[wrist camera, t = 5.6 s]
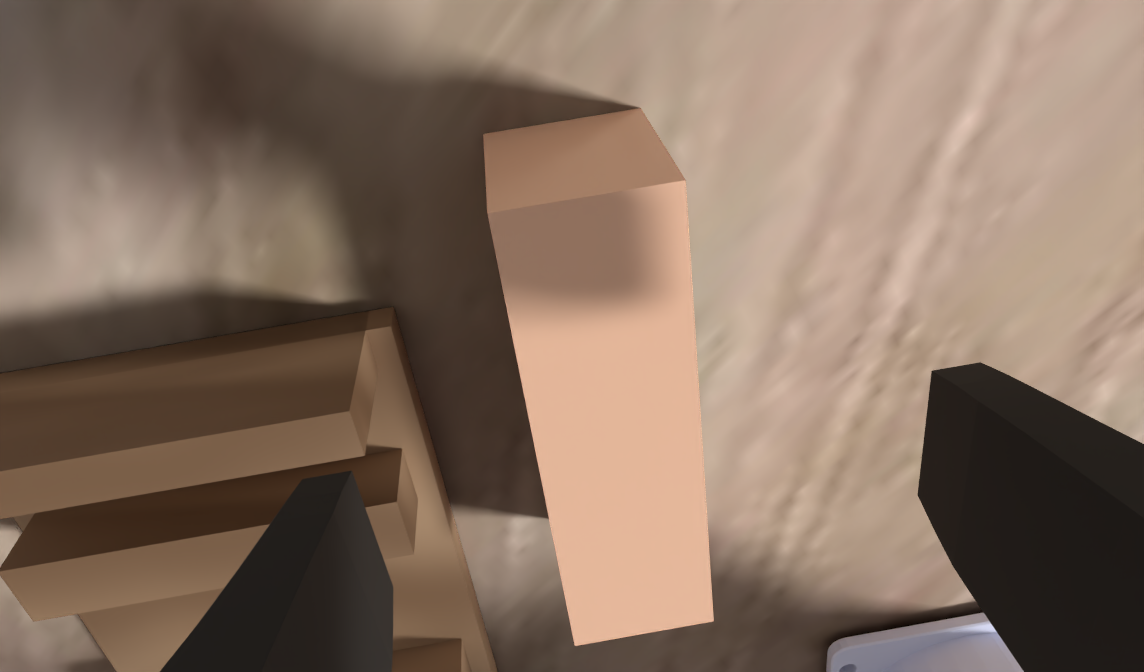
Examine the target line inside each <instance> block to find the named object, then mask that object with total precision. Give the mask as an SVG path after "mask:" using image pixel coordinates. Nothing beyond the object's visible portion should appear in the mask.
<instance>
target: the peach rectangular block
mask: <svg viewBox="0 0 1144 672" xmlns="http://www.w3.org/2000/svg"><path fill="white" fill-rule="evenodd" d="M483 139H484V159H485V178H486V197H487V214H488V219H489V224H490V229H491V234H492V239H493V244H494V249H495V254H496V259H497V264H498V268H499V273H500V278H501V283H502V288H503V293H504V298H505V303H506V308H507V313H508V318H509V323H510V328H511V333H512V338H513V343H514V348H515V353H516V358H517V362H518V367H519V372H520V377H521V382H522V387H523V392H524V397H525V402H526V407H527V412H528V417H529V422H530V427H531V432H532V437H533V442H534V447H535V452H536V457H537V461H538V466H539V471H540V476H541V481H542V486H543V491H544V496H545V501H546V506H547V511H548V516H549V521H550V526H551V531H552V536H553V541H554V546H555V551H556V555H557V560H558V565H559V570H560V575H561V580H562V585H563V590H564V595H565V600H566V605H567V610H568V615H569V620H570V625H571V630H572V635H573V640H574V645H575V646H578V645H584V644H589V643H595V642H601V641H606V640H612V639H617V638H623V637H629V636H634V635H640V634H645V633H651V632H656V631H662V630H668V629H673V628H679V627H684V626H690V625H696V624H701V623H707V622H712V621H714V617H713V601H712V586H711V570H710V554H709V539H708V523H707V507H706V492H705V476H704V460H703V444H702V429H701V413H700V397H699V382H698V366H697V350H696V335H695V319H694V303H693V287H692V272H691V256H690V240H689V225H688V209H687V193H686V180H685V178H684V177H683V175H682V173H681V172H680V170H679V169H678V167H677V165H676V164H675V162H674V161H673V159H672V157H671V156H670V154H669V153H668V151H667V149H666V148H665V146H664V145H663V143H662V141H661V140H660V138H659V137H658V135H657V133H656V132H655V130H654V129H653V127H652V125H651V124H650V122H649V121H648V119H647V117H646V116H645V114H644V113H643V111H642V109H641V108H637V109H631V110H625V111H619V112H613V113H607V114H601V115H595V116H589V117H583V118H577V119H571V120H565V121H559V122H553V123H547V124H541V125H535V126H529V127H523V128H517V129H510V130H504V131H498V132H492V133H486V134H483Z"/></svg>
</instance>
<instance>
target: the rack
mask: <svg viewBox="0 0 1144 672" xmlns="http://www.w3.org/2000/svg"><path fill="white" fill-rule="evenodd" d="M346 471H352V472H353V475H354V478H355V481H356V483H357V486H358V489H359V492H360V495H361V497H362V500H363V503H364V506H365V509H366V511H367V514H368V517H369V520H370V523H371V525H372V528H373V531H374V534H375V537H376V539H377V542H378V545H379V548H380V551H381V553H382V556H383V559H384V562H385V565H386V567H387V570H388V573H389V576H390V579H391V581H392V584H393V657H392V672H498V671H497V668H496V664H495V661H494V657H493V654H492V650H491V646H490V643H489V639H488V636H487V632H486V629H485V625H484V622H483V618H482V615H481V611H480V608H479V604H478V601H477V597H476V594H475V590H474V587H473V583H472V580H471V576H470V573H469V569H468V566H467V562H466V559H465V555H464V552H463V548H462V545H461V541H460V538H459V534H458V531H457V527H456V524H455V520H454V517H453V513H452V510H451V506H450V503H449V499H448V496H447V492H446V489H445V485H444V482H443V478H442V475H441V471H440V468H439V464H438V461H437V457H436V454H435V450H434V447H433V443H432V440H431V436H430V433H429V429H428V426H427V422H426V419H425V415H424V412H423V408H422V405H421V401H420V398H419V394H418V391H417V387H416V384H415V380H414V377H413V373H412V370H411V366H410V363H409V359H408V356H407V352H406V349H405V345H404V342H403V338H402V335H401V331H400V328H399V324H398V321H397V317H396V314H395V310H394V307H389V308H383V309H377V310H371V311H365V312H359V313H353V314H348V315H342V316H336V317H330V318H324V319H318V320H312V321H306V322H300V323H295V324H289V325H283V326H277V327H271V328H265V329H259V330H253V331H247V332H242V333H236V334H230V335H224V336H218V337H212V338H206V339H200V340H194V341H189V342H183V343H177V344H171V345H165V346H159V347H153V348H147V349H141V350H135V351H130V352H124V353H118V354H112V355H106V356H100V357H94V358H88V359H82V360H77V361H71V362H65V363H59V364H53V365H47V366H41V367H35V368H29V369H24V370H18V371H12V372H6V373H0V519H4V518H10V517H13V518H14V520H15V521H16V523H17V524H18V526H19V527H20V529H21V530H22V532H23V533H22V534H21V536H20V537H19V539H18V540H17V542H16V544H15V545H14V547H13V548H12V550H11V552H10V553H9V555H8V556H7V558H6V559H5V561H4V563H3V564H2V566H1V567H0V576H1V577H2V579H3V580H4V581H5V583H6V584H7V586H8V587H9V588H10V590H11V591H12V593H13V594H14V595H15V597H16V598H17V599H18V601H19V602H20V604H21V605H22V606H23V608H24V609H25V611H26V612H27V613H28V615H29V616H30V618H31V619H32V620H33V622H34V621H40V620H45V619H51V618H57V617H62V616H68V615H74V614H78V615H79V617H80V618H81V620H82V621H83V622H84V624H85V625H86V627H87V628H88V630H89V631H90V633H91V634H92V636H93V637H94V639H95V640H96V642H97V643H98V645H99V646H100V648H101V649H102V651H103V652H104V654H105V655H106V657H107V658H108V660H109V661H110V663H111V664H112V666H113V667H114V669H115V670H116V672H160V670H161V669H162V668H163V667H164V666H165V664H166V663H167V662H168V661H169V659H170V658H171V657H172V656H173V654H174V653H175V652H176V651H177V649H178V648H179V647H180V646H181V644H182V643H183V642H184V641H185V639H186V638H187V637H188V636H189V634H190V633H191V632H192V631H193V629H194V628H195V627H196V625H197V624H198V623H199V621H200V620H201V619H202V617H203V616H204V615H205V613H206V612H207V611H208V609H209V608H210V606H211V605H212V604H213V602H214V601H215V600H216V598H217V597H218V596H219V594H220V593H221V592H222V590H223V589H224V588H225V586H226V585H227V583H228V582H229V581H230V579H231V578H232V577H233V575H234V574H235V573H236V571H237V570H238V569H239V567H240V566H241V564H242V563H243V561H244V560H245V559H246V557H247V556H248V554H249V553H250V552H251V550H252V549H253V547H254V546H255V545H256V543H257V542H258V540H259V539H260V537H261V536H262V535H263V533H264V532H265V530H266V529H267V527H268V526H269V525H270V523H271V522H272V520H273V519H274V517H275V516H276V515H277V513H278V512H279V510H280V509H281V508H282V506H283V505H284V503H285V502H286V501H287V499H288V498H289V497H290V495H291V494H292V492H293V491H294V490H295V488H296V487H297V486H298V484H299V483H300V482H301V480H302V479H306V478H311V477H317V476H323V475H329V474H335V473H340V472H346Z"/></svg>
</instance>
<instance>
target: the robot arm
mask: <svg viewBox="0 0 1144 672" xmlns="http://www.w3.org/2000/svg"><path fill="white" fill-rule="evenodd" d="M918 497H919V499H920V501H921V503H922V505H923V507H924V509H925V511H926V513H927V516H928V518H929V520H930V522H931V524H932V526H933V528H934V530H935V532H936V534H937V536H938V538H939V540H940V542H941V544H942V546H943V548H944V550H945V552H946V554H947V555H948V557H949V559H950V561H951V563H952V565H953V567H954V568H955V570H956V571H957V573H958V575H959V576H960V578H961V579H962V581H963V582H964V584H965V585H966V587H967V588H968V590H969V591H970V593H971V594H972V596H973V597H974V599H975V600H976V602H977V603H978V605H979V606H980V608H981V609H982V611H983V613H978V614H972V615H967V616H961V617H956V618H950V619H945V620H939V621H934V622H928V623H922V624H917V625H911V626H906V627H900V628H895V629H889V630H884V631H878V632H873V633H867V634H862V635H856V636H851V637H845V638H841V639H838V640H837V641H835V642H833V643H832V644H831V646H830V647H829V649H828V652H827V670H826V672H1144V444H1142V443H1140V442H1138V441H1136V440H1134V439H1132V438H1130V437H1128V436H1126V435H1124V434H1122V433H1120V432H1118V431H1117V430H1115V429H1113V428H1111V427H1109V426H1107V425H1105V424H1103V423H1101V422H1099V421H1097V420H1095V419H1093V418H1091V417H1089V416H1087V415H1085V414H1083V413H1081V412H1079V411H1077V410H1076V409H1074V408H1072V407H1070V406H1068V405H1066V404H1064V403H1062V402H1060V401H1058V400H1056V399H1054V398H1052V397H1050V396H1048V395H1046V394H1044V393H1043V392H1041V391H1039V390H1037V389H1035V388H1033V387H1031V386H1029V385H1027V384H1025V383H1023V382H1021V381H1019V380H1017V379H1015V378H1013V377H1011V376H1009V375H1007V374H1005V373H1002V372H1000V371H998V370H996V369H994V368H992V367H989V366H987V365H985V364H983V363H974V364H969V365H963V366H957V367H951V368H945V369H940V370H934V371H932V374H931V382H930V391H929V400H928V409H927V418H926V426H925V435H924V444H923V453H922V461H921V470H920V479H919V488H918ZM392 657H393V584H392V581H391V579H390V576H389V573H388V570H387V567H386V565H385V562H384V559H383V556H382V553H381V551H380V548H379V545H378V542H377V539H376V537H375V534H374V531H373V528H372V525H371V523H370V520H369V517H368V514H367V511H366V509H365V506H364V503H363V500H362V497H361V495H360V492H359V489H358V486H357V483H356V481H355V478H354V475H353V472H352V471H346V472H340V473H335V474H329V475H323V476H317V477H311V478H306V479H302V480H301V482H300V483H299V484H298V486H297V487H296V488H295V490H294V491H293V492H292V494H291V495H290V497H289V498H288V499H287V501H286V502H285V503H284V505H283V506H282V508H281V509H280V510H279V512H278V513H277V515H276V516H275V517H274V519H273V520H272V522H271V523H270V525H269V526H268V527H267V529H266V530H265V532H264V533H263V535H262V536H261V537H260V539H259V540H258V542H257V543H256V545H255V546H254V547H253V549H252V550H251V552H250V553H249V554H248V556H247V557H246V559H245V560H244V561H243V563H242V564H241V566H240V567H239V569H238V570H237V571H236V573H235V574H234V575H233V577H232V578H231V579H230V581H229V582H228V583H227V585H226V586H225V588H224V589H223V590H222V592H221V593H220V594H219V596H218V597H217V598H216V600H215V601H214V602H213V604H212V605H211V606H210V608H209V609H208V611H207V612H206V613H205V615H204V616H203V617H202V619H201V620H200V621H199V623H198V624H197V625H196V627H195V628H194V629H193V631H192V632H191V633H190V634H189V636H188V637H187V638H186V639H185V641H184V642H183V643H182V644H181V646H180V647H179V648H178V649H177V651H176V652H175V653H174V654H173V656H172V657H171V658H170V659H169V661H168V662H167V663H166V664H165V666H164V667H163V668H162V669H161V670H160V672H392Z"/></svg>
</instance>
